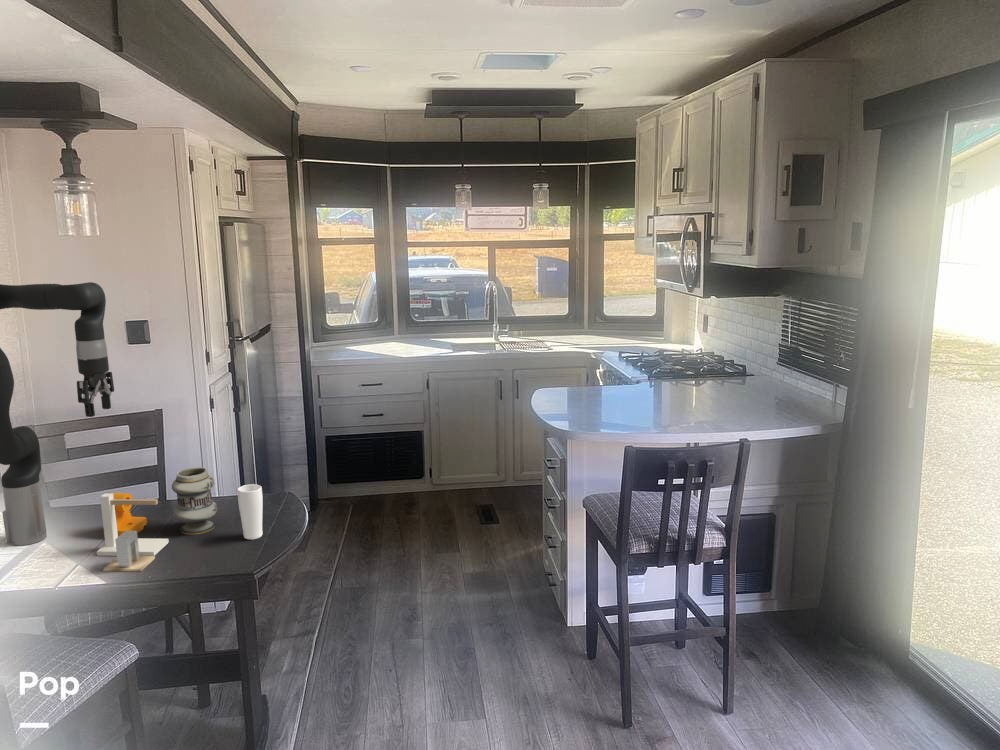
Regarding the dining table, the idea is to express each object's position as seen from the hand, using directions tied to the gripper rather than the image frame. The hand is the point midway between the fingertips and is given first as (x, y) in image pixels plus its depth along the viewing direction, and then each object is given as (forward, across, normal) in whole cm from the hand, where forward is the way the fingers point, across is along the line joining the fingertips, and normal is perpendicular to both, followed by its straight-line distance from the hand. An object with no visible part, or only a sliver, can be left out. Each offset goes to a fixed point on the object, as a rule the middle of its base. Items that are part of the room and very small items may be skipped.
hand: (98, 412), depth 216 cm
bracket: (+38, -6, +1) cm, 39 cm away
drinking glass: (+38, -3, +40) cm, 55 cm away
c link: (+38, +16, +13) cm, 43 cm away
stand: (+38, +6, +9) cm, 40 cm away
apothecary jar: (+38, -9, +21) cm, 45 cm away
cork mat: (+38, +16, +13) cm, 43 cm away
